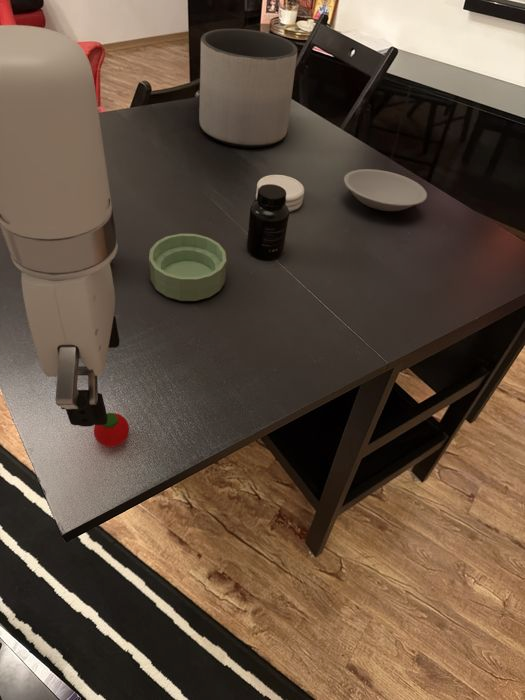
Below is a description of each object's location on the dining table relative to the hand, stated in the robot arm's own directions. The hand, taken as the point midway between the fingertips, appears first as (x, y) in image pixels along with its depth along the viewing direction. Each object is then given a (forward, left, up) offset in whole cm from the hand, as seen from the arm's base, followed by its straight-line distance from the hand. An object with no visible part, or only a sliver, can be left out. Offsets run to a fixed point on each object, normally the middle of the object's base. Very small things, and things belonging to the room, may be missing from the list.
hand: (97, 381), depth 47 cm
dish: (+50, +59, -14) cm, 78 cm away
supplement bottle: (+23, +42, -14) cm, 50 cm away
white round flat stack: (+28, +60, -14) cm, 68 cm away
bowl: (+9, +33, -14) cm, 37 cm away
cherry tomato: (0, +2, -14) cm, 14 cm away
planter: (+23, +94, -14) cm, 98 cm away
